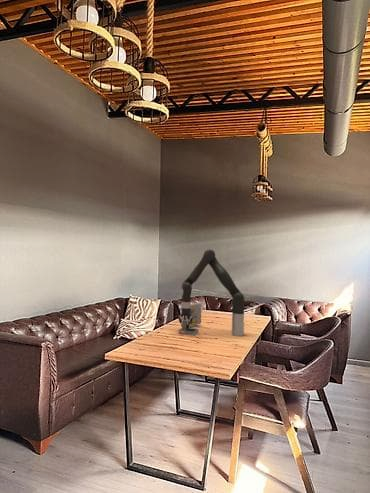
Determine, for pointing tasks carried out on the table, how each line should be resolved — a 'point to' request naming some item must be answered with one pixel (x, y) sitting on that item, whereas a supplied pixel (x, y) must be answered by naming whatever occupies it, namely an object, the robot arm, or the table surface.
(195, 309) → the network device
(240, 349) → the table surface
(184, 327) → the rectangular block
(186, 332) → the rack
